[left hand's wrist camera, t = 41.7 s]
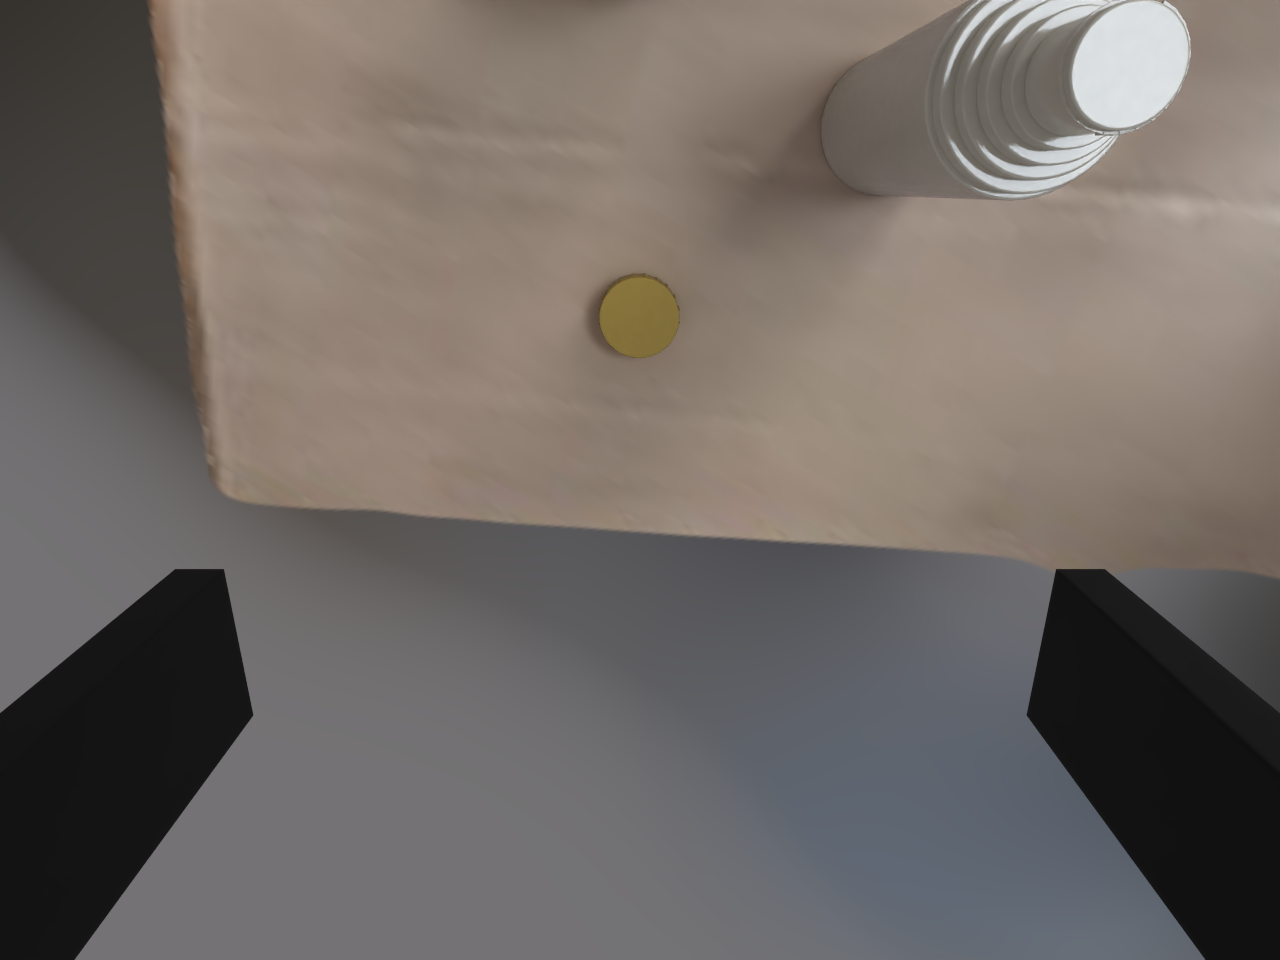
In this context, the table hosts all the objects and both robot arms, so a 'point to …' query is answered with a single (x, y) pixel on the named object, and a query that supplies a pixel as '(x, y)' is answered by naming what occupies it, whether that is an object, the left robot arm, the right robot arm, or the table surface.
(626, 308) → the cap
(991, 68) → the bottle
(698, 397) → the table surface
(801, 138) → the table surface
